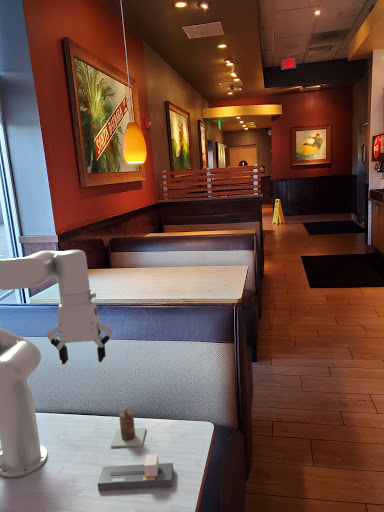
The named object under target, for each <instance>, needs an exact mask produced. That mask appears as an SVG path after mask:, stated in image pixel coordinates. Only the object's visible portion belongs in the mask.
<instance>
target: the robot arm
mask: <svg viewBox="0 0 384 512" xmlns="http://www.w3.org/2000/svg"><path fill="white" fill-rule="evenodd" d="M87 261H88V260H87V255H86V253H85V251H84V250H81V249H69V250H64V251H62V250H61V251H60V250H59V251H58V250H57V251H56V250H41V251H38V252H35V253H32V254H29V255H28V256H24V257H16V258H15V257H14V258H6V259H5V258H4V259H3V258H1V259H0V291H11V290H23V289H32V288H36V287H40V286H42V285H43V284H44V283H46V282H47V281H49V280H52V279H54V278H57V284H58V291H59V293H58V294H59V297H60V298H59V300H60V304H58V310H57V326H56V327H54V328H52V329H51V330H49V331H48V332H47V333H46V334H45V335H46V337H47V339H48V340H49V341H50V344H51V345H53V346H54V347H55V348H56V350H57V351H58V355H59V356H58V357H59V360H60V361H61V365H66V363H67V362H68V361H69V354H68V346H67V345H66V343H67V344H69V343H71V344H72V343H86V342H87V343H88V342H94V343H95V344H96V345H97V346H98V347H97V348H96V350H97V357H98V362H99V363H102V362H103V360H104V358H106V344H107V343H108V341H109V340H110V338H111V336H112V334H113V331H114V328H113V327H111V326H108V325H107V324H104V323H101V320H100V316H99V312H98V307H97V304H96V301H95V300H93V299H96V298H97V293H96V292H92V291H91V290H92V289H90V288H91V287H90V279H89V270H88V269H89V268H88V262H87ZM102 332H105V333H106V334H105V336H104V337H103V336H102V335H101V333H102ZM57 333H58V338H57V337H56V334H57ZM41 358H42V354H41V352H40V349H39V348H38V347H37V345H36V344H34V343H33V342H32V341H30V340H29V339H25V338H23V337H22V336H19V335H18V334H15V333H13V332H11V331H9V330H7V329H5V328H2V327H0V446H1V447H0V475H1V476H2V477H5V478H9V479H10V478H12V479H13V478H19V477H23V476H26V475H30V474H32V473H34V472H35V471H36V470H38V469H39V468H41V467H42V466H43V465H44V464H45V462H46V461H47V458H48V450H47V448H46V447H45V446H43V445H42V444H41V441H40V436H39V435H40V434H39V429H38V423H37V415H36V409H35V403H34V402H35V401H34V396H33V394H32V392H31V389H30V387H29V385H28V379H29V377H30V376H31V375H32V374H33V373H34V371H35V370H37V368H38V366H39V365H40V364H41V360H42V359H41Z"/></svg>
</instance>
